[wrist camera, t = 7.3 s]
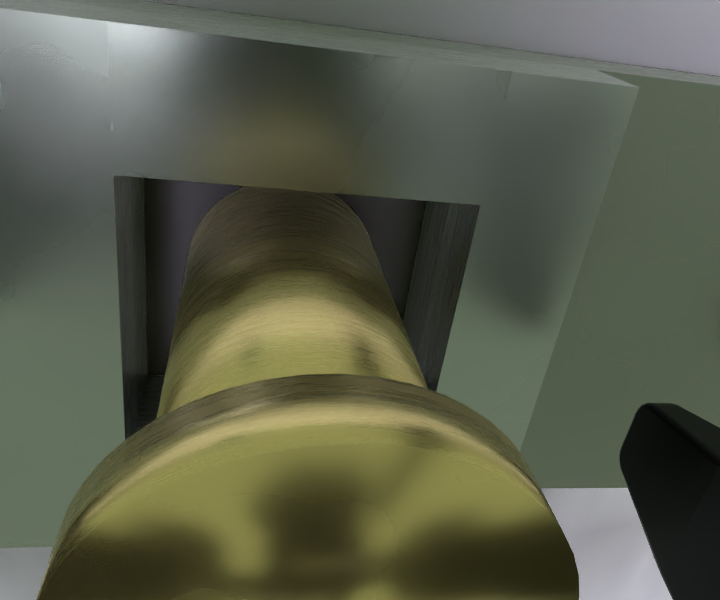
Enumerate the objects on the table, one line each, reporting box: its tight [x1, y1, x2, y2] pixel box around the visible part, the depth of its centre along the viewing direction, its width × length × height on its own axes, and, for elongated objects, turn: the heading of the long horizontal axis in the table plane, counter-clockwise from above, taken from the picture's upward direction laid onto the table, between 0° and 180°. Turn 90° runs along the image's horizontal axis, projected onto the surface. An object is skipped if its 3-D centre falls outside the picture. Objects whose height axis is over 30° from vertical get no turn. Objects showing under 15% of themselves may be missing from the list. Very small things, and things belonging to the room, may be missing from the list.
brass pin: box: [37, 186, 579, 600], centre depth 8 cm, size 4×4×7 cm
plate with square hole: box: [0, 0, 720, 548], centre depth 10 cm, size 26×8×3 cm, turn 82°
